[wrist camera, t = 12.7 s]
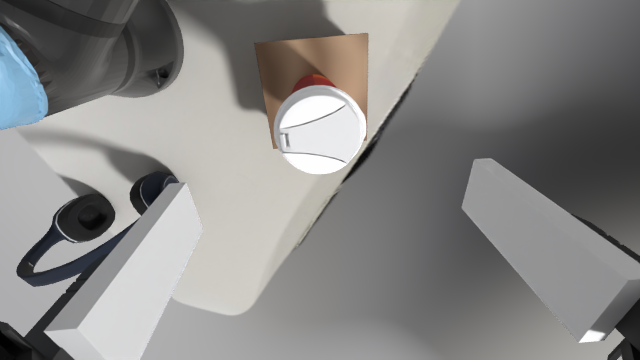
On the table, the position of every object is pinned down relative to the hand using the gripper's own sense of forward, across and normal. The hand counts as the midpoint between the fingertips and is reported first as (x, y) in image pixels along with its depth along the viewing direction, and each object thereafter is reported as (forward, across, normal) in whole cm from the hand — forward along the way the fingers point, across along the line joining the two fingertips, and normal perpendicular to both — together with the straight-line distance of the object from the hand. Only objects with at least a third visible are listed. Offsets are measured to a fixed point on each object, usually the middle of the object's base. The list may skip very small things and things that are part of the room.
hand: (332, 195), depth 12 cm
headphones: (+31, -33, -17) cm, 48 cm away
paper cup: (+24, 0, -1) cm, 24 cm away
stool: (+31, 0, -1) cm, 31 cm away
